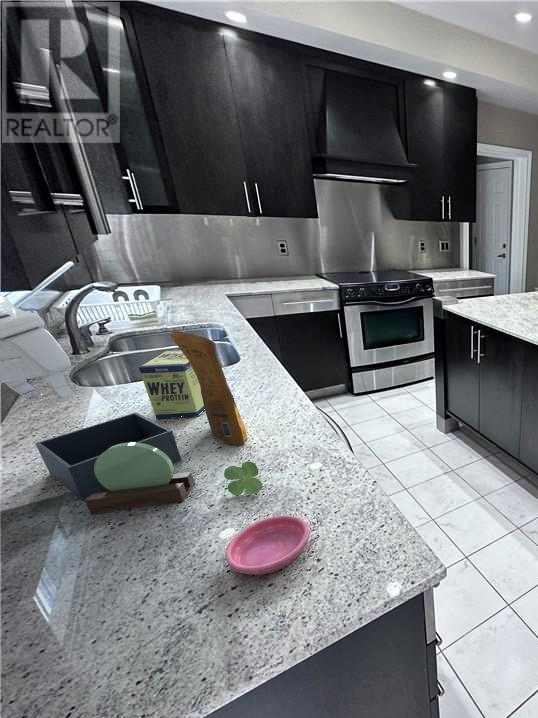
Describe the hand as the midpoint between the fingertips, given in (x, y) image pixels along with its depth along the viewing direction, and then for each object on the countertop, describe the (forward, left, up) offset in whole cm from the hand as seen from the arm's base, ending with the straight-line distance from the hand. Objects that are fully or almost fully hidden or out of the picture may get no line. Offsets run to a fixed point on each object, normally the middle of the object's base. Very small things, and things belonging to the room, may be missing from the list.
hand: (51, 398), depth 74 cm
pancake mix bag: (+27, +3, -22) cm, 35 cm away
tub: (+7, +9, -22) cm, 25 cm away
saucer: (+9, -44, -22) cm, 50 cm away
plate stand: (+5, -9, -22) cm, 24 cm away
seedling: (+18, -23, -22) cm, 37 cm away
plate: (+5, -9, -15) cm, 19 cm away
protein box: (+31, +29, -22) cm, 47 cm away
